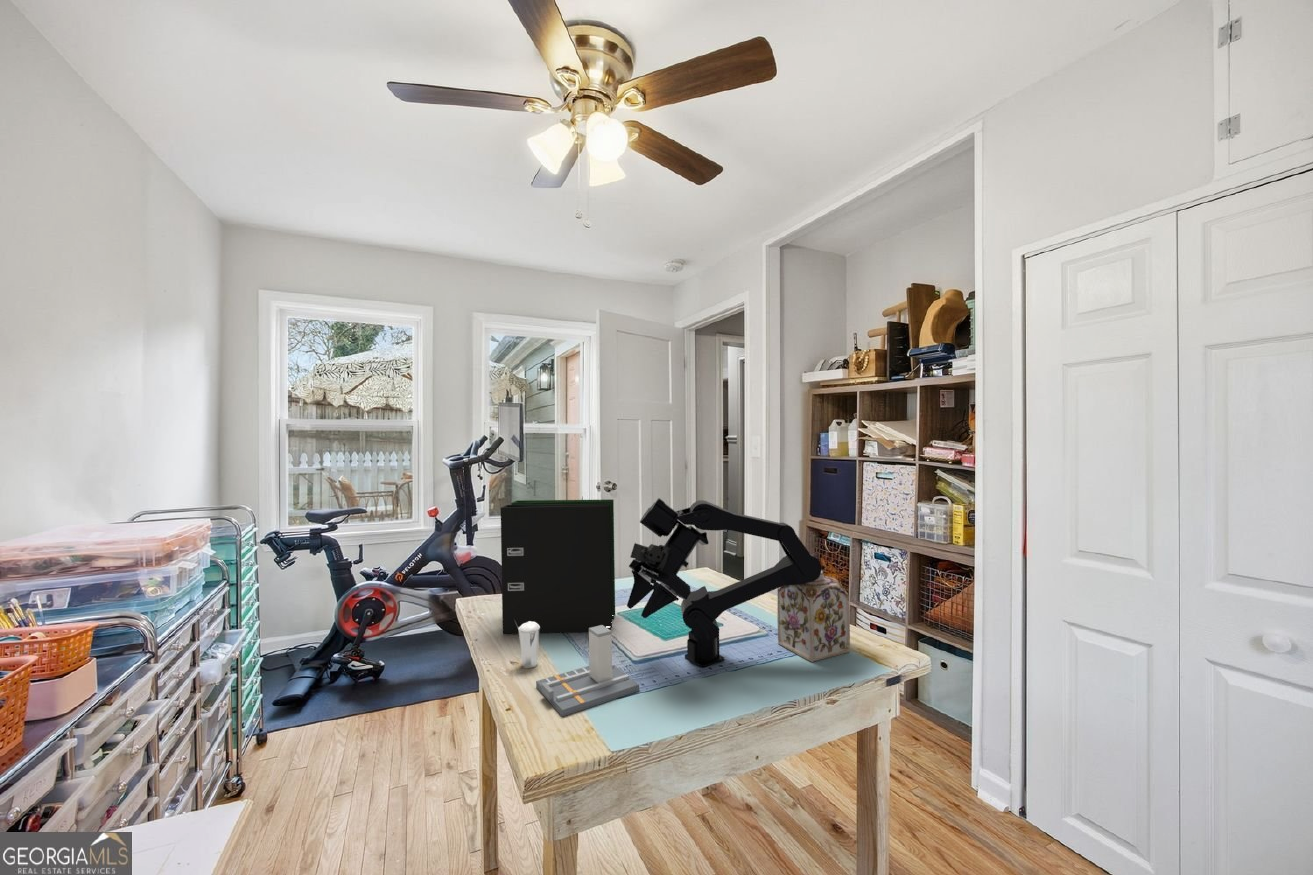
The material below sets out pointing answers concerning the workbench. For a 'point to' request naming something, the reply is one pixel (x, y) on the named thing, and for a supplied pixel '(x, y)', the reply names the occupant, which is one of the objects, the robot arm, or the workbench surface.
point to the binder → (558, 565)
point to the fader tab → (600, 653)
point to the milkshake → (529, 643)
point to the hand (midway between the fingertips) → (635, 612)
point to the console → (584, 689)
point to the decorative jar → (814, 618)
